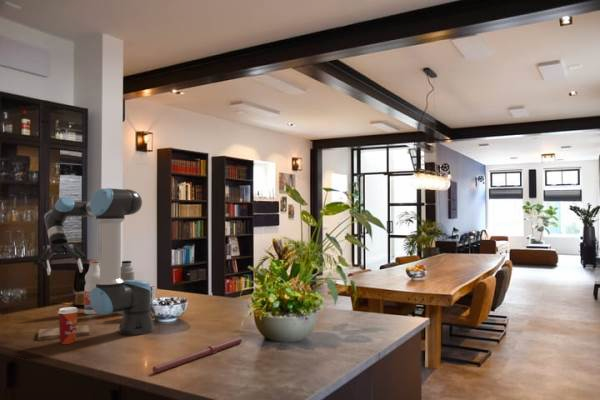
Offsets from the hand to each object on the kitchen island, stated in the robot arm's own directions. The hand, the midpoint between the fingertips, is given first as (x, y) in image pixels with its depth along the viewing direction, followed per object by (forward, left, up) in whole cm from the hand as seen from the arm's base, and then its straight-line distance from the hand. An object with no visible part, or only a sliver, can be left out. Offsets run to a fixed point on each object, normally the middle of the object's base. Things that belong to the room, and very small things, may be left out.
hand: (65, 272), depth 218 cm
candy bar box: (-15, -37, -27) cm, 48 cm away
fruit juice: (+17, -37, -27) cm, 49 cm away
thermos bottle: (0, -42, -27) cm, 50 cm away
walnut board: (-3, +3, -27) cm, 27 cm away
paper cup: (-15, +13, -27) cm, 34 cm away
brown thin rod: (-78, +12, -28) cm, 84 cm away
